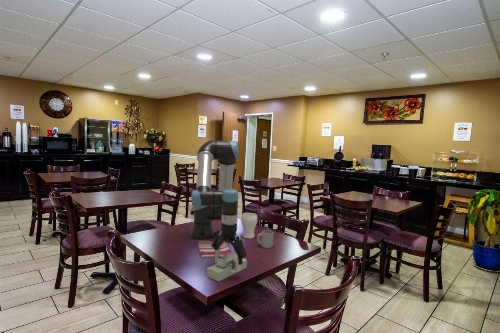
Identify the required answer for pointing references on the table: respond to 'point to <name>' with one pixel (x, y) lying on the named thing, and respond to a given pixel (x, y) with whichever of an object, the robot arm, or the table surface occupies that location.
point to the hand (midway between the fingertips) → (227, 266)
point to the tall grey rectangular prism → (227, 260)
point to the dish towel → (211, 249)
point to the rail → (224, 270)
